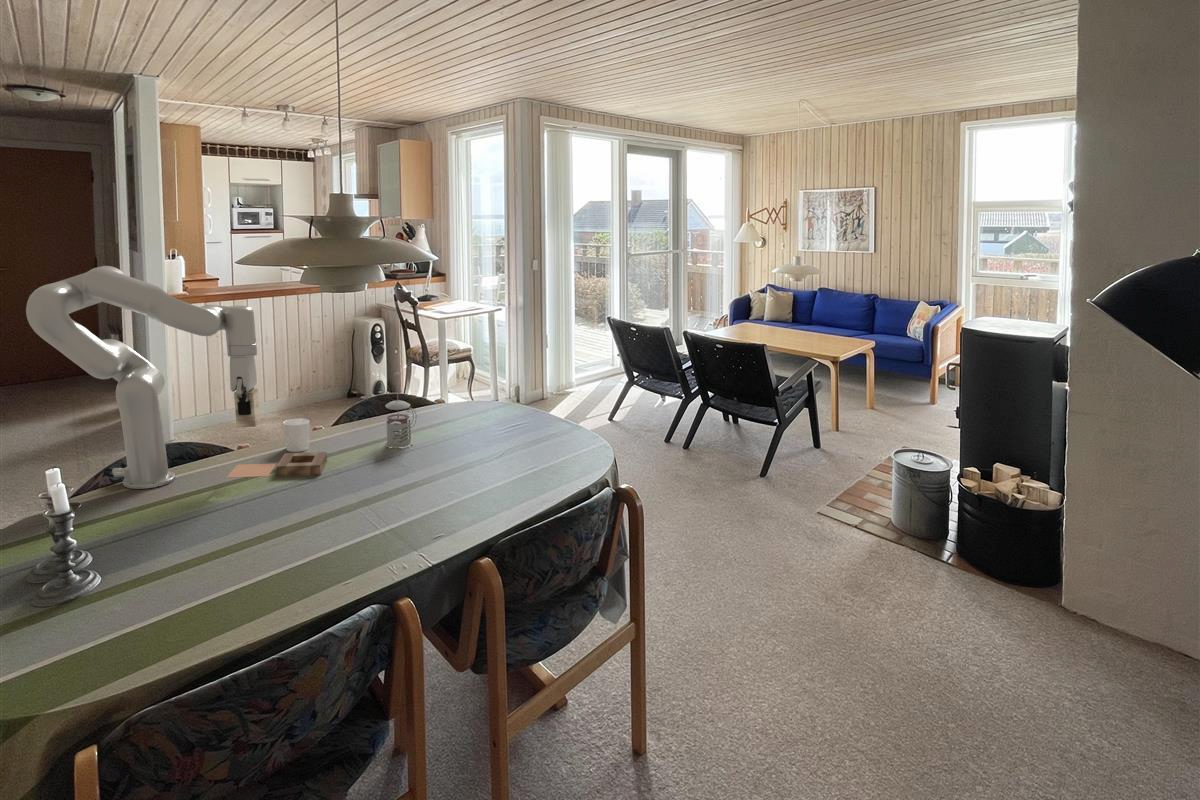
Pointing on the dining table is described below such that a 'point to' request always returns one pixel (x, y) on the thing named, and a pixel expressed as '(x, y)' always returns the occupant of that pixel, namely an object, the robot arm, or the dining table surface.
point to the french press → (395, 438)
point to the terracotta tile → (251, 470)
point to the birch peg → (254, 417)
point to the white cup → (297, 434)
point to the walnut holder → (301, 464)
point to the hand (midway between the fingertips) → (247, 411)
